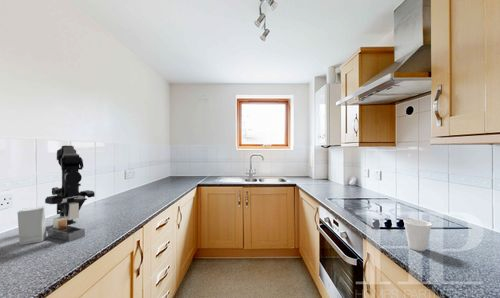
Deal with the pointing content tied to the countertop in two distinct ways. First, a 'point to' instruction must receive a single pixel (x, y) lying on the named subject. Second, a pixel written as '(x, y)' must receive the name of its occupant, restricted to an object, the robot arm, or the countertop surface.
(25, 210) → the skincare box
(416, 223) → the cup
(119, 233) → the countertop surface
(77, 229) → the grey holder tray
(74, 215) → the pale upright block
